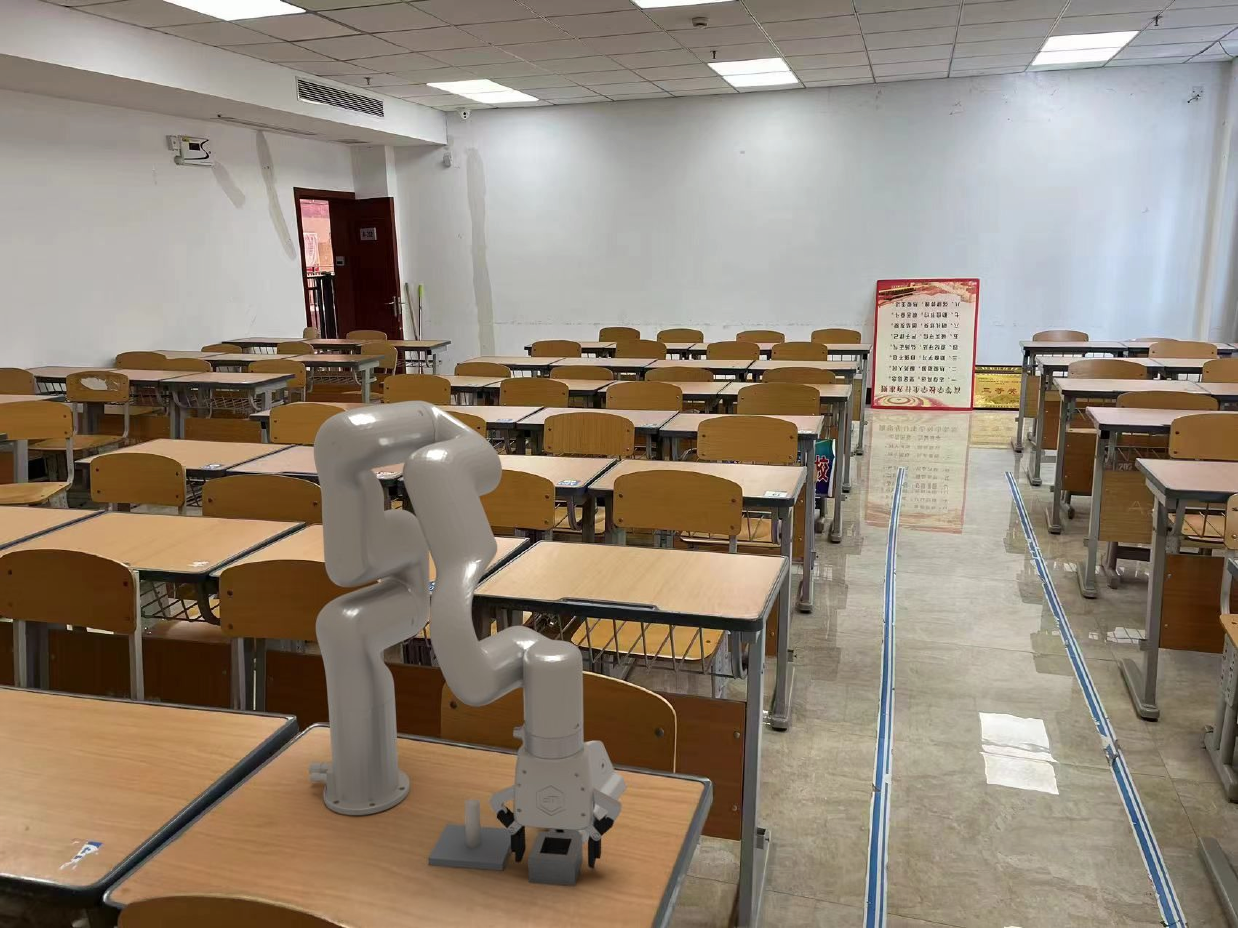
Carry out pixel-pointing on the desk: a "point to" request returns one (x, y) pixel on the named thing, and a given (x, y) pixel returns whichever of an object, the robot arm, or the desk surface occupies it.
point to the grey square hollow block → (555, 858)
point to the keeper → (472, 843)
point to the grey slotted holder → (600, 782)
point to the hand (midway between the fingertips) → (556, 859)
